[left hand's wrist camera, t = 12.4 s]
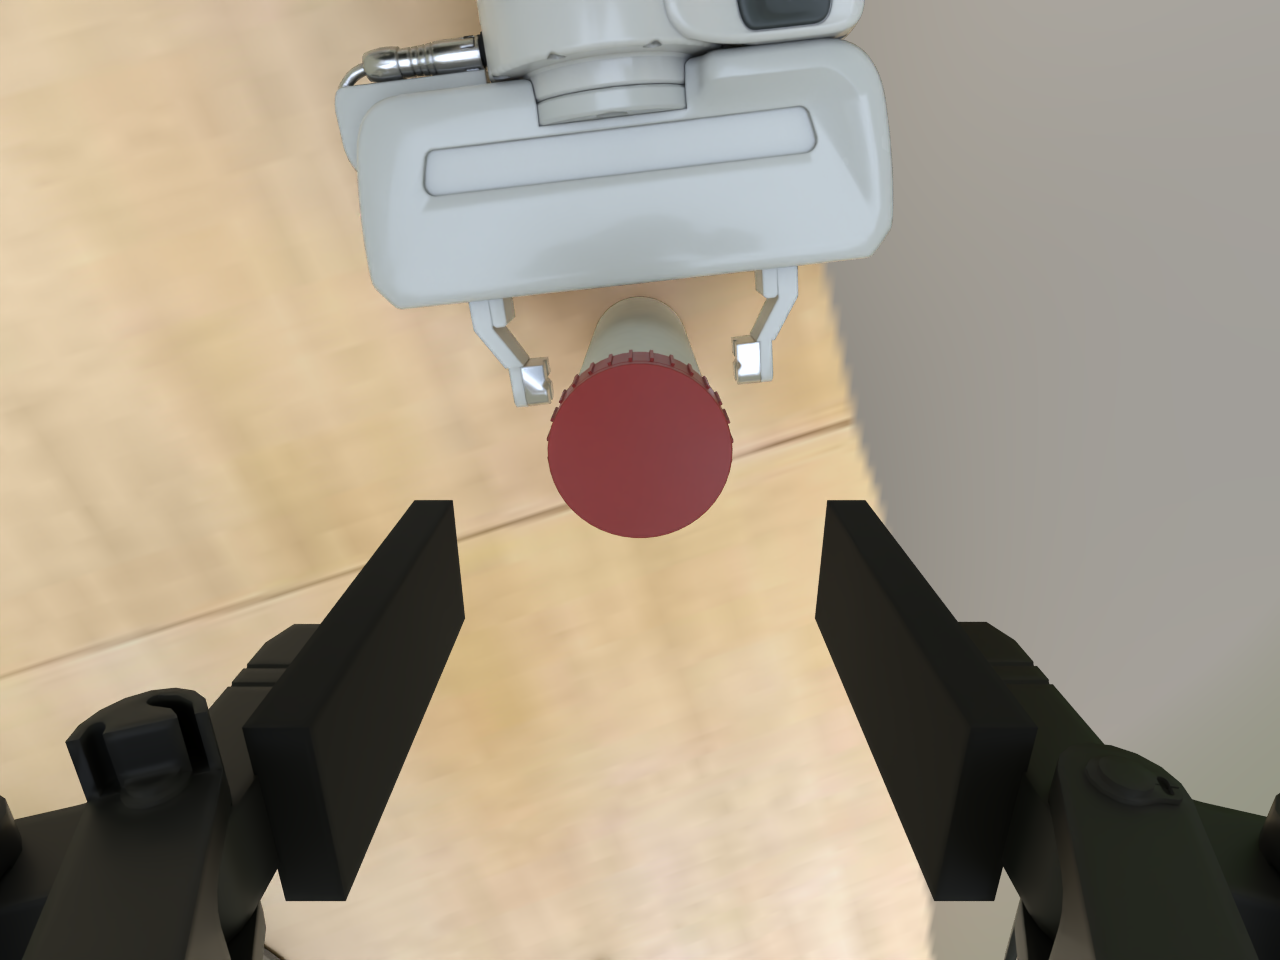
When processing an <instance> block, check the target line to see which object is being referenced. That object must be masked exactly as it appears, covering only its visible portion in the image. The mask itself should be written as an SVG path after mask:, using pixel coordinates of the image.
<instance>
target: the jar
mask: <svg viewBox="0 0 1280 960" xmlns="http://www.w3.org/2000/svg"><path fill="white" fill-rule="evenodd" d="M629 350H633V352H649V351H650V350H653V353H658V354H662V355H666V356H669V355H670V354H671V355H673V357H674V359H676V360H679V361H681V362H682V363H684V364H686V365H687V364H688V363H689V364H691V366H692V369H693V370H695V371H696V372H697V373H698V374H699V375H700V376H701V373H700V371H699V368H698V365H697V362H696V359H695V357H694V354H693V351H692V348H691V345H690V343H689V340H688V337H687V334H686V331H685V329H684V326H683V324H682V322H681V320H680V318H679V317H678V316H677V314H676V313H675V312H674V311H673V310H672V309H671V308H670V307H668V306H667V305H666V304H664V303H662V302H660V301H658V300H656V299H652V298H648V297H632V298H628V299H624V300H622V301H620V302H618V303H616V304H614V305H613V306H612V307H610V308H609V309H608V310H607V311H606V312H605V313H604V314H603V316H602V317H601V318H600V320H599V322H598V324H597V326H596V329H595V331H594V334H593V337H592V340H591V343H590V345H589V348H588V351H587V354H586V357H585V359H584V362H583V365H582V368H581V371H580V373H579V376H580V375H581V374H582V373H583V372H584V371H585V370H587V369H588V368H589V367H590V364H591V363H592V362H594V363H595V364H596V363H598V362H599V361H601V360H604V359H606V358H608V357H609V354H613V356H614V355H618V354H622V353H629ZM701 377H702V376H701Z"/></svg>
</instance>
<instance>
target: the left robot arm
mask: <svg viewBox="0 0 1280 960" xmlns="http://www.w3.org/2000/svg"><path fill="white" fill-rule="evenodd" d="M464 619H465V613H464V604H463V594H462V585H461V575H460V565H459V556H458V546H457V537H456V527H455V518H454V508H453V500H414V502H413V503H412V504H411V506H410V507H409V508H408V510H407V511H406V512H405V514H404V515H403V516H402V518H401V519H400V520H399V522H398V523H397V524H396V525H395V527H394V528H393V529H392V531H391V532H390V533H389V535H388V536H387V537H386V539H385V540H384V541H383V543H382V544H381V545H380V546H379V548H378V549H377V550H376V552H375V553H374V554H373V556H372V557H371V558H370V560H369V561H368V562H367V564H366V565H365V566H364V568H363V569H362V570H361V571H360V573H359V574H358V575H357V577H356V578H355V579H354V581H353V582H352V583H351V585H350V586H349V587H348V589H347V590H346V591H345V593H344V594H343V595H342V596H341V598H340V599H339V600H338V602H337V603H336V604H335V606H334V607H333V608H332V610H331V611H330V612H329V614H328V615H327V616H326V618H325V619H324V620H323V621H322V623H321V624H294V625H292V626H291V627H289V628H287V629H286V630H284V631H283V632H281V633H280V634H278V635H277V636H275V637H274V638H272V639H270V640H269V641H267V642H266V643H265V644H264V645H263V646H262V647H261V649H260V650H259V651H258V652H257V653H256V654H255V656H254V657H253V658H252V659H251V660H250V661H249V663H248V664H247V668H246V669H243V670H242V671H241V672H240V673H239V674H238V676H237V677H236V678H235V679H234V680H233V681H232V686H231V687H227V688H226V690H225V691H224V692H223V693H222V694H221V695H220V697H219V698H218V699H217V700H216V701H215V702H214V704H213V705H212V706H211V707H210V708H209V710H208V707H207V703H206V699H205V698H204V697H202V696H201V695H200V694H198V693H197V692H196V691H193V690H187V689H180V688H169V689H160V690H151V691H148V692H144V693H141V694H138V695H134V696H131V697H127V698H124V699H122V700H120V701H118V702H116V703H114V704H112V705H110V706H108V707H106V708H104V709H101V710H99V711H98V712H97V713H95V714H94V715H93V716H91V717H90V718H88V719H87V720H86V721H84V722H83V723H81V724H80V725H79V726H78V727H77V728H76V729H75V731H74V732H73V733H72V734H71V736H70V737H69V738H68V739H67V741H66V742H65V743H66V745H67V748H68V751H69V753H70V756H71V759H72V761H73V764H74V767H75V770H76V772H77V775H78V778H79V780H80V783H81V786H82V789H83V791H84V794H85V797H86V799H87V803H84V804H81V805H77V806H73V807H68V808H64V809H60V810H55V811H51V812H46V813H42V814H38V815H33V816H29V817H24V818H20V819H15V820H14V818H13V816H12V814H11V811H10V809H9V806H8V804H7V802H6V799H5V798H3V797H2V796H0V960H280V959H279V958H278V957H276V956H275V955H274V954H272V953H271V952H270V951H268V950H266V949H265V948H264V941H265V931H266V925H265V919H264V913H263V909H262V905H261V901H260V900H261V898H262V896H263V894H264V892H265V891H266V889H267V887H268V885H269V883H270V881H271V880H272V878H273V876H274V874H275V872H276V870H277V869H278V872H279V876H280V880H281V884H282V888H283V892H284V896H285V900H286V901H346V899H347V897H348V894H349V892H350V889H351V887H352V885H353V882H354V880H355V878H356V875H357V873H358V871H359V868H360V866H361V863H362V861H363V859H364V856H365V854H366V852H367V849H368V847H369V844H370V842H371V840H372V837H373V835H374V833H375V830H376V828H377V826H378V823H379V821H380V818H381V816H382V814H383V811H384V809H385V807H386V804H387V802H388V799H389V797H390V795H391V792H392V790H393V788H394V785H395V783H396V781H397V778H398V776H399V773H400V771H401V769H402V766H403V764H404V762H405V759H406V757H407V754H408V752H409V750H410V747H411V745H412V743H413V740H414V738H415V736H416V733H417V731H418V728H419V726H420V724H421V721H422V719H423V717H424V714H425V712H426V709H427V707H428V705H429V702H430V700H431V698H432V695H433V693H434V691H435V688H436V686H437V683H438V681H439V679H440V676H441V674H442V672H443V669H444V667H445V664H446V662H447V660H448V657H449V655H450V653H451V650H452V648H453V646H454V643H455V641H456V638H457V636H458V634H459V631H460V629H461V627H462V624H463V622H464ZM815 619H816V622H817V624H818V627H819V629H820V631H821V634H822V636H823V638H824V641H825V643H826V646H827V648H828V650H829V653H830V655H831V657H832V660H833V662H834V664H835V667H836V669H837V672H838V674H839V676H840V679H841V681H842V683H843V686H844V688H845V691H846V693H847V695H848V698H849V700H850V702H851V705H852V707H853V709H854V712H855V714H856V717H857V719H858V721H859V724H860V726H861V728H862V731H863V733H864V736H865V738H866V740H867V743H868V745H869V747H870V750H871V752H872V754H873V757H874V759H875V762H876V764H877V766H878V769H879V771H880V773H881V776H882V778H883V781H884V783H885V785H886V788H887V790H888V792H889V795H890V797H891V799H892V802H893V804H894V807H895V809H896V811H897V814H898V816H899V818H900V821H901V823H902V826H903V828H904V830H905V833H906V835H907V837H908V840H909V842H910V844H911V847H912V849H913V852H914V854H915V856H916V859H917V861H918V863H919V866H920V868H921V871H922V873H923V875H924V878H925V880H926V882H927V885H928V887H929V889H930V892H931V894H932V897H933V899H934V901H994V900H995V896H996V892H997V888H998V884H999V880H1000V876H1001V872H1002V868H1003V867H1004V869H1005V870H1006V872H1007V874H1008V876H1009V878H1010V880H1011V881H1012V883H1013V885H1014V887H1015V889H1016V890H1017V892H1018V894H1019V896H1020V901H1019V905H1018V909H1017V913H1016V916H1015V920H1014V924H1013V927H1012V931H1011V935H1010V938H1009V942H1008V946H1007V949H1006V953H1005V958H1004V960H1016V959H1017V960H1280V793H1279V794H1278V795H1276V797H1275V799H1274V802H1273V804H1272V806H1271V809H1270V811H1269V814H1268V816H1267V817H1265V816H1260V815H1256V814H1252V813H1247V812H1243V811H1238V810H1234V809H1230V808H1225V807H1221V806H1216V805H1212V804H1207V803H1203V802H1199V801H1196V800H1193V799H1191V797H1190V796H1189V794H1188V793H1187V791H1186V790H1185V788H1184V787H1183V786H1182V784H1181V783H1180V782H1179V781H1178V780H1176V779H1175V778H1174V777H1173V776H1171V775H1170V774H1169V773H1168V772H1167V771H1165V770H1164V769H1163V768H1162V767H1160V766H1158V765H1157V764H1155V763H1153V762H1151V761H1149V760H1147V759H1146V758H1144V757H1142V756H1140V755H1138V754H1136V753H1133V752H1130V751H1127V750H1124V749H1121V748H1118V747H1115V746H1112V745H1104V743H1103V742H1102V741H1101V740H1100V739H1099V738H1098V737H1097V735H1096V734H1095V733H1094V732H1093V731H1092V730H1091V728H1090V727H1089V726H1088V725H1087V724H1086V723H1085V721H1084V720H1083V719H1082V718H1081V717H1080V716H1079V714H1078V713H1077V712H1076V711H1075V710H1074V709H1073V707H1072V706H1071V705H1070V704H1069V703H1068V702H1067V700H1066V699H1065V698H1064V697H1063V696H1062V695H1061V693H1060V692H1059V691H1058V690H1057V689H1056V688H1055V686H1054V685H1053V684H1049V680H1048V678H1047V677H1046V676H1045V675H1044V674H1043V672H1042V671H1041V670H1040V669H1039V668H1038V667H1037V666H1034V665H1033V661H1032V660H1031V658H1030V657H1029V656H1028V655H1027V654H1026V653H1025V652H1024V650H1023V649H1022V648H1021V647H1020V646H1019V645H1018V643H1017V642H1016V641H1015V640H1014V639H1012V638H1010V637H1009V636H1007V635H1006V634H1004V633H1003V632H1001V631H1000V630H998V629H996V628H995V627H993V626H992V625H990V624H989V623H987V622H958V621H957V620H956V619H955V618H954V616H953V615H952V614H951V612H950V611H949V610H948V608H947V607H946V606H945V604H944V603H943V602H942V600H941V599H940V598H939V597H938V595H937V594H936V593H935V591H934V590H933V589H932V587H931V586H930V585H929V583H928V582H927V581H926V579H925V578H924V577H923V575H922V574H921V573H920V571H919V570H918V569H917V568H916V566H915V565H914V564H913V562H912V561H911V560H910V558H909V557H908V556H907V554H906V553H905V552H904V550H903V549H902V548H901V546H900V545H899V544H898V543H897V541H896V540H895V539H894V537H893V536H892V535H891V533H890V532H889V531H888V529H887V528H886V527H885V525H884V524H883V523H882V522H881V520H880V519H879V518H878V516H877V515H876V514H875V512H874V511H873V510H872V508H871V507H870V506H869V504H868V503H867V502H866V500H827V508H826V517H825V527H824V537H823V546H822V556H821V565H820V575H819V585H818V594H817V604H816V613H815Z"/></svg>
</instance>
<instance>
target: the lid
mask: <svg viewBox="0 0 1280 960" xmlns="http://www.w3.org/2000/svg"><path fill="white" fill-rule="evenodd" d="M559 403H560V405H559V408H558V407H556V408H555V410H554V413H553V415H552V418H551V421H552V422H553V423H552V426H551V429H550V431H549V434H548V437H547V441H548V457H547V458H548V462H549V467H550V472H551V475H552V478H553V481H554V483H555V485H556V488H557V490H558V492H559V493H560V495H561V496H562V498H563V499H564V501H565V502H566V503H567V504H568V506H569V507H570V508H571V509H572V510H573V511H574V512H575V513H576V514H577V515H578V516H580V517H581V518H582V519H583V520H585V521H586V522H588V523H589V524H591V525H593V526H595V527H596V528H598V529H600V530H603V531H605V532H608V533H611V534H615V535H619V536H623V537H631V538H649V537H657V536H661V535H666V534H669V533H672V532H675V531H677V530H680V529H682V528H684V527H685V526H687V525H689V524H691V523H692V522H694V521H695V520H697V519H698V518H699V517H700V516H702V515H703V514H704V513H705V512H706V511H707V510H708V509H709V508H710V507H711V506H712V505H713V503H714V502H715V501H716V499H717V498H718V496H719V495H720V493H721V492H722V490H723V488H724V486H725V484H726V481H727V478H728V475H729V472H730V467H731V462H732V443H733V438H732V436H731V433H730V429H729V426H728V424H729V423H730V421H729V418H728V416H727V413H726V411H725V409H722V408H721V405H722V402H721V400H720V397H719V395H718V393H717V391H716V392H714V391H713V390H712V388H711V387H710V386H709V383H708V381H707V378H706V377H705V376H703V377H701V376H700V375H699V374H698V373H697V372H696V371H695V370H693V369H692V366H691V364H689V363H688V364H687V365H686V364H684V363H682V362H681V361H679V360H676V359H674V357H673V355H671V354H670V355H669V356H666V355H662V354H658V353H653V350H650V351H649V352H633V350H629V353H622V354H618V355H614V356H613V354H609V357H608V358H606V359H604V360H601V361H599V362H598V363H596V364H595V363H594V362H592V363H591V364H590V367H589V368H588V369H587V370H585V371H584V372H583V373H582V374H581V375H580V376H579V375H578V374H577V375H576V376H575V378H574V380H573V383H572V384H571V386H570V387H569V388H568V390H564V391H563V393H562V396H561V398H560V400H559Z"/></svg>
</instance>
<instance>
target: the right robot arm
mask: <svg viewBox="0 0 1280 960" xmlns="http://www.w3.org/2000/svg"><path fill="white" fill-rule="evenodd" d="M476 2H477V8H478V14H479V21H480V25H481V29H482V31H481V32H480V35H476V36H473V35H472V36H464V37H461V38H453V39H445V40H439V41H434V42H432V43H431V42H430V43H427V44H425V45H424V44H423V45H420V46H418V47H417V46H415V47H411V48H410V47H408V48H399V47H395V46H391V47H381V48H377V49H374V50H370V51H368V52H366V53H364V54H363V57H362V62H363V63H361V64H358V65H357V66H355V67H353V68H352V69H351V70H350V71H349V72H347V73H346V75H345V76H344V78H343V79H342V81H341V83H340V85H339V87H338V90H337V92H336V95H335V111H336V116H337V120H338V124H339V129H340V133H341V137H342V142H343V146H344V150H345V152H346V155H347V157H348V160H349V162H350V163H351V165H352V166H353V168H354V169H355V170H356V172H357V178H358V192H359V204H360V214H361V223H362V231H363V238H364V244H365V251H366V256H367V262H368V268H369V272H370V277H371V280H372V284H373V286H374V287H375V289H376V290H377V291H378V292H379V293H380V294H381V295H382V296H383V297H384V298H385V299H387V300H388V301H389V302H390V303H391V304H392V305H393V306H394V307H396V308H398V309H411V308H420V307H429V306H438V305H447V304H456V303H466V302H469V307H470V312H471V318H472V323H473V328H474V331H475V333H476V334H477V335H478V336H479V337H480V339H481V340H482V341H483V342H484V343H485V345H486V346H487V347H488V348H489V349H490V351H491V352H492V353H493V354H494V355H495V357H496V358H497V359H498V360H499V361H500V363H501V364H502V365H503V366H504V367H505V368H508V369H509V374H510V380H511V385H512V391H513V396H514V402H515V404H516V407H528V406H535V405H543V404H551V400H552V399H553V384H552V381H551V380H550V379H549V378H548V375H549V373H550V365H549V359H548V357H540V358H530V357H529V356H528V354H527V353H526V352H525V350H524V349H523V348H522V346H521V345H520V344H519V342H518V341H517V340H516V338H515V337H514V336H513V334H512V333H511V332H510V331H509V329H508V328H507V327H506V325H507V324H508V323H509V322H511V321H512V320H513V319H514V317H515V310H514V304H513V298H512V297H520V296H529V295H538V294H547V293H556V292H565V291H574V290H583V289H592V288H601V287H610V286H619V285H628V284H637V283H646V282H655V281H665V280H674V279H683V278H692V277H701V276H710V275H719V274H728V273H737V272H746V271H755V286H756V291H757V292H758V293H760V294H761V295H763V296H764V297H765V298H767V299H766V301H765V303H764V305H763V307H762V309H761V311H760V313H759V316H758V318H757V320H756V322H755V324H754V326H753V328H752V330H751V332H750V335H745V336H737V337H731V338H732V353H733V354H734V356H735V360H734V361H733V370H734V377H735V380H736V381H737V384H747V383H758V382H768V381H772V379H773V359H772V340H775V339H776V337H777V335H778V333H779V331H780V329H781V327H782V325H783V323H784V322H785V320H786V318H787V316H788V314H789V312H790V310H791V308H792V306H793V305H794V303H795V301H796V299H797V297H798V266H800V265H809V264H818V263H827V262H836V261H845V260H854V259H863V258H868V257H871V256H872V255H873V254H874V253H875V252H876V250H877V249H878V248H879V246H880V245H881V244H882V242H883V241H884V239H885V238H886V236H887V235H888V233H889V232H890V229H891V227H892V221H893V169H892V153H891V141H890V130H889V121H888V113H887V105H886V99H885V93H884V88H883V85H882V81H881V78H880V75H879V73H878V70H877V68H876V66H875V65H874V63H873V61H872V60H871V58H870V57H869V56H868V55H867V54H866V53H865V52H864V51H863V50H862V49H861V48H860V47H858V46H857V45H855V44H853V43H851V42H848V41H845V40H843V39H844V38H845V37H846V36H847V35H848V34H849V33H850V32H851V31H852V30H853V28H854V27H855V25H856V24H857V22H858V21H859V19H860V17H861V15H862V12H863V9H864V3H865V0H476ZM487 69H488V72H487ZM424 75H425V76H427V77H419V76H424ZM364 76H367V78H368V79H369V80H370V81H371V82H375V83H371V84H363V85H355V86H353V85H354V84H355V83H356V82H357V81H358V80H359V79H361V78H362V77H364ZM417 76H418V77H419V78H413V77H417ZM407 78H411V79H407ZM490 81H491V83H490Z"/></svg>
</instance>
